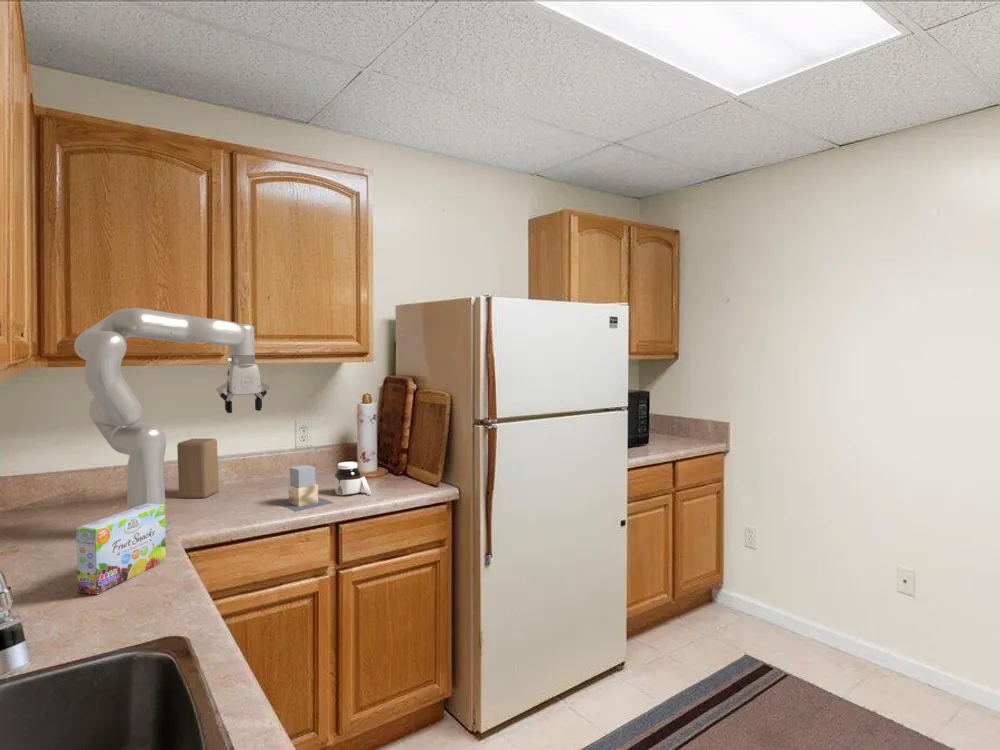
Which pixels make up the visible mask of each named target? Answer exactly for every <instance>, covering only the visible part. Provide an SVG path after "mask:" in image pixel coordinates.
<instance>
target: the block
mask: <svg viewBox="0 0 1000 750" xmlns="http://www.w3.org/2000/svg"><path fill="white" fill-rule="evenodd" d="M176 447H177V448H176V449H177V451H176V452H177V469H178V471H177V473H178V475H177V476H178V497H179V498H182V499H206V498H207V497H210V496H212V495H214V494H216V493H218V492H219V488H220V487H219V463H218V462H219V461H218V440H217V439H216V438H190V439H187V440H183V441H180V442H178V443H177V446H176Z"/></svg>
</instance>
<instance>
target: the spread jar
mask: <svg viewBox="0 0 1000 750" xmlns="http://www.w3.org/2000/svg"><path fill="white" fill-rule="evenodd" d="M362 485H363V489H364V491H365V493H366V495H367V496H371V494H372V492H371V490H370V487H369V484H368V482H367V479H366V477H365V476H362V475H361V472H360V470H359V469H358V462H356V461H343V462H339V463H337V470H336V471H335V473H334V489H335V490H334V491H335V494H337V495H338V496H341V497H352V496H356V495H360V494H361V493H362Z"/></svg>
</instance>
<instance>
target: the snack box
mask: <svg viewBox="0 0 1000 750" xmlns="http://www.w3.org/2000/svg"><path fill="white" fill-rule="evenodd" d="M165 509H166V503H165V504H148V503H147V504H144V505H141V506H138V507H135V508H132V509H129V510H128V509H127V510H124V511H121V512H118V513H115V514H113V515H110V516H107V517H104V518H101V519H98V520H95V521H92V522H89V523H87V524H84V525H83V524H82V525H81V526H78V527H76V528H75V531H76V534H75V537H76V568H77V569H76V570H77V572H76V573H77V576H76V577H77V594H83V593H90V594H97V593H100V592H102V591H104V590H106V589H108V588H110V587H112V588H114V587H116V586H118V585H120V584H122V583H124V582H126V581H128V579H129V580H131V579H132V577H133V578H135V577H137V576H138V575H140V574H142V573H145V572H147V571H149V570H151V569H153V568H155V567H157V566H159V565H161V564H163V563H166V561H167V553H166V552H167V551H166V547H167V546H166V545H167V543H166V532H165ZM162 562H163V563H162ZM160 563H161V564H160ZM158 564H159V565H158ZM156 565H157V566H156ZM154 566H155V567H154ZM130 578H131V579H130ZM119 583H120V584H119ZM117 584H118V585H117ZM115 585H116V586H115ZM113 586H114V587H113ZM110 589H111V588H110ZM108 590H109V589H108ZM106 591H107V590H106ZM104 592H105V591H104ZM102 593H103V592H102ZM90 594H89V595H90ZM100 594H101V593H100Z"/></svg>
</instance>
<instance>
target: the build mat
mask: <svg viewBox="0 0 1000 750" xmlns="http://www.w3.org/2000/svg"><path fill="white" fill-rule="evenodd" d="M272 503H273V504H276V505H278V506H280V507H283V508H285V509H288V510H290V511H293V512H300V511H305V510H308V509H313V508H318V507H322V506H326V505H331V504H335V502H333V501H331V500H329V499H325V498H323V497H319V496H318V503H313V504H308V505H304V506H296V505H294V504H291V503H289V498H288V499H283V500H278V501H273V502H272Z"/></svg>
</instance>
